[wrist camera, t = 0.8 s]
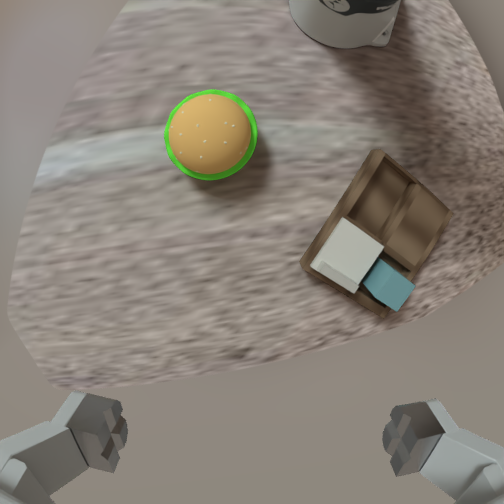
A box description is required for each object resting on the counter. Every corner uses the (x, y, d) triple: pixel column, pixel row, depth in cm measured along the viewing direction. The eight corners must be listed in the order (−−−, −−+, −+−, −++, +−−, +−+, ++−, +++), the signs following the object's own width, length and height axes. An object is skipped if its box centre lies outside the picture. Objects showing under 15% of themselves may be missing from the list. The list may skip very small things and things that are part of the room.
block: (376, 255, 45) (394, 270, 38) (396, 269, 46) (415, 285, 39) (359, 279, 46) (375, 297, 40) (379, 292, 47) (397, 311, 40)
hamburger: (217, 196, 44) (209, 203, 36) (156, 142, 42) (135, 138, 34) (274, 134, 42) (279, 126, 33) (212, 81, 39) (202, 63, 31)
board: (371, 150, 42) (380, 149, 39) (441, 210, 44) (453, 213, 41) (299, 261, 47) (302, 269, 43) (376, 309, 49) (383, 318, 45)
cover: (342, 216, 41) (348, 220, 38) (382, 245, 42) (389, 250, 39) (309, 265, 43) (313, 271, 40) (350, 290, 44) (356, 298, 41)
